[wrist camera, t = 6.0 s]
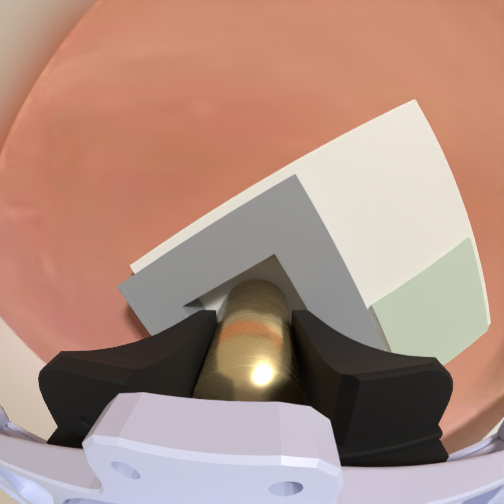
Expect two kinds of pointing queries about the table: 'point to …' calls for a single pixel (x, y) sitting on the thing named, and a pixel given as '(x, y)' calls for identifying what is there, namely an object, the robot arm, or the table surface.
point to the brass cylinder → (252, 349)
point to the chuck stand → (338, 245)
